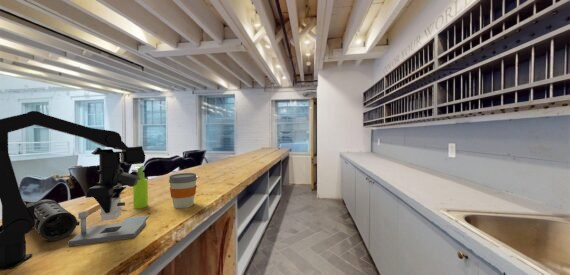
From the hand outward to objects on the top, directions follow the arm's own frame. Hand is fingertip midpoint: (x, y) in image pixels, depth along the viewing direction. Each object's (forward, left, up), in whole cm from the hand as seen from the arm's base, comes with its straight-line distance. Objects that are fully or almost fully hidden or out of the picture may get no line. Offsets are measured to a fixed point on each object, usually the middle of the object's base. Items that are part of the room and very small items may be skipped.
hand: (111, 210), depth 78 cm
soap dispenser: (+31, +1, -8) cm, 32 cm away
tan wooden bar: (+6, +8, -2) cm, 10 cm away
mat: (+11, -3, -8) cm, 14 cm away
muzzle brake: (+14, +19, -5) cm, 25 cm away
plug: (0, 0, -3) cm, 3 cm away
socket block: (0, 0, -8) cm, 8 cm away
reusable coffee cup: (+27, -19, -8) cm, 34 cm away
